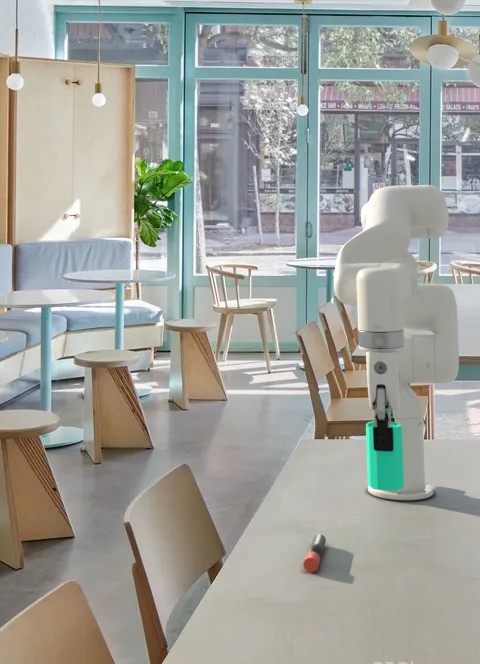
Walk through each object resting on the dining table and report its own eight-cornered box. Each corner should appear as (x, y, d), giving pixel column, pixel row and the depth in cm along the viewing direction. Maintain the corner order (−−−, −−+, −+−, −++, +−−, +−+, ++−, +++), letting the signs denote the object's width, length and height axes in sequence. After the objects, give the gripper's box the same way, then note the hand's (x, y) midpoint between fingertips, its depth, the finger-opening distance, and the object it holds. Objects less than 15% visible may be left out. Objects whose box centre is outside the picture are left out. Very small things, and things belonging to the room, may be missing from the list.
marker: (313, 543, 175) (313, 530, 175) (327, 544, 175) (327, 531, 175) (303, 571, 162) (303, 557, 162) (318, 573, 161) (317, 558, 161)
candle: (405, 491, 171) (403, 419, 171) (368, 490, 172) (366, 419, 172) (402, 480, 177) (400, 411, 177) (367, 480, 178) (364, 411, 178)
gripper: (402, 348, 165) (406, 460, 165) (405, 333, 181) (408, 434, 181) (354, 347, 167) (358, 457, 167) (362, 332, 183) (365, 432, 184)
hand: (384, 444), depth 174 cm, fingers closed on candle, 6 cm apart
